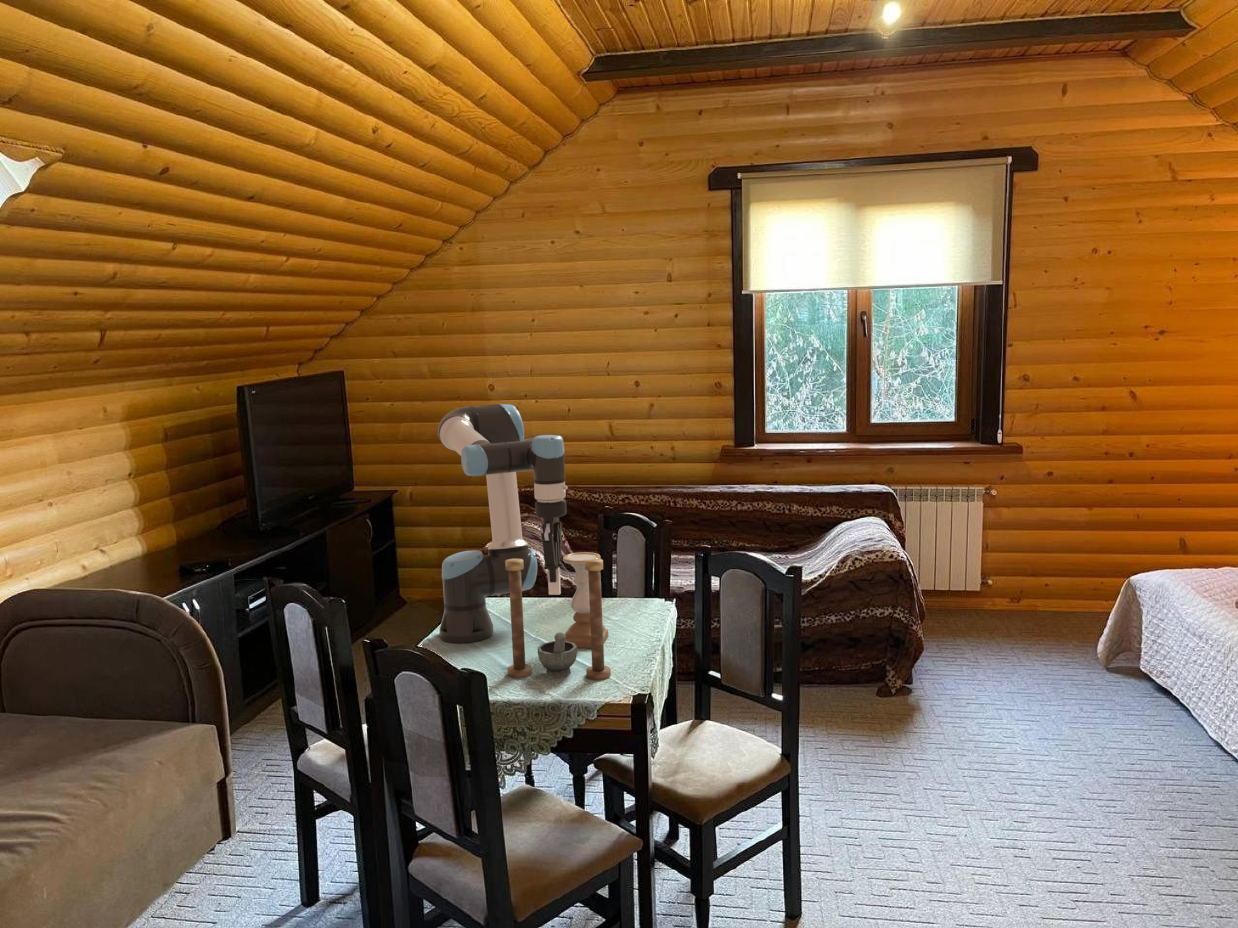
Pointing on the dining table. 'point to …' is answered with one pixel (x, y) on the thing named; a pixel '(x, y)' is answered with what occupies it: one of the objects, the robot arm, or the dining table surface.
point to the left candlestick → (517, 620)
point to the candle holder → (581, 602)
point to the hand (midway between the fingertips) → (554, 593)
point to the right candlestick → (596, 621)
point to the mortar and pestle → (557, 656)
